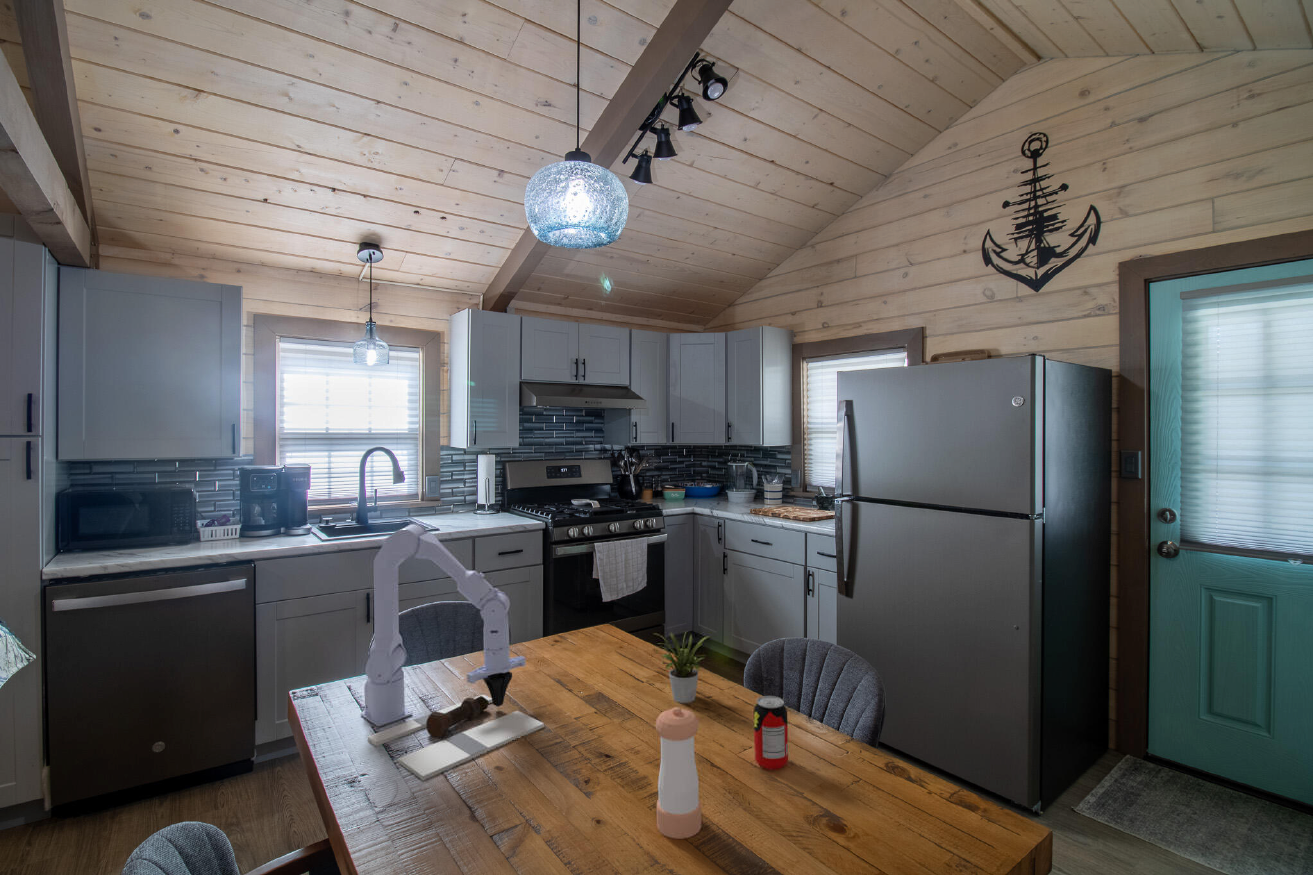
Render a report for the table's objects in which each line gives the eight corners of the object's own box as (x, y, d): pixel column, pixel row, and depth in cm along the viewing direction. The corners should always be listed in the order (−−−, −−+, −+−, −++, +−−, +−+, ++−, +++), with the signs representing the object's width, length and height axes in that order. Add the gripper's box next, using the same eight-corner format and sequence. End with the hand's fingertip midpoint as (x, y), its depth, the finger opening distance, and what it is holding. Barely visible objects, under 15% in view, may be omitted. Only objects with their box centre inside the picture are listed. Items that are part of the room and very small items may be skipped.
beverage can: (790, 757, 125) (789, 696, 125) (785, 774, 119) (784, 710, 119) (758, 753, 127) (756, 692, 127) (752, 769, 121) (750, 706, 121)
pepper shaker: (655, 813, 108) (652, 699, 108) (698, 809, 108) (695, 697, 108) (658, 840, 101) (656, 719, 100) (704, 837, 101) (702, 716, 101)
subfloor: (367, 740, 136) (367, 736, 136) (483, 697, 156) (483, 694, 156) (422, 780, 120) (422, 775, 120) (544, 726, 140) (543, 723, 140)
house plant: (639, 706, 150) (638, 636, 149) (661, 683, 163) (660, 619, 162) (697, 715, 144) (696, 643, 144) (715, 691, 157) (714, 625, 157)
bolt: (486, 718, 149) (437, 745, 136) (472, 704, 151) (422, 729, 138) (496, 699, 148) (447, 724, 135) (481, 685, 150) (432, 708, 137)
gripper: (478, 658, 141) (480, 720, 141) (532, 641, 152) (533, 699, 152) (461, 651, 146) (463, 711, 146) (515, 635, 156) (516, 691, 156)
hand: (498, 704), depth 149 cm, fingers closed
